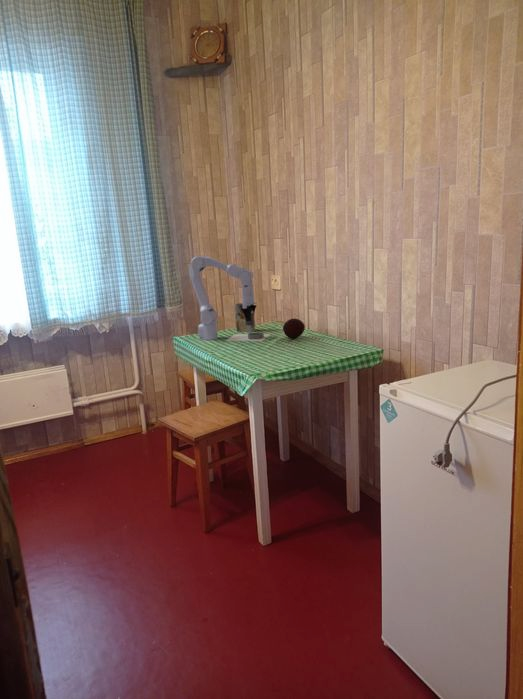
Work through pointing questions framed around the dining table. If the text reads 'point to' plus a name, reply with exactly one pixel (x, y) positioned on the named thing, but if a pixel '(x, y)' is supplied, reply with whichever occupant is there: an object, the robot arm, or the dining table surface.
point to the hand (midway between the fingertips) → (249, 320)
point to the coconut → (293, 328)
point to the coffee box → (242, 320)
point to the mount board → (244, 338)
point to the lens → (251, 320)
